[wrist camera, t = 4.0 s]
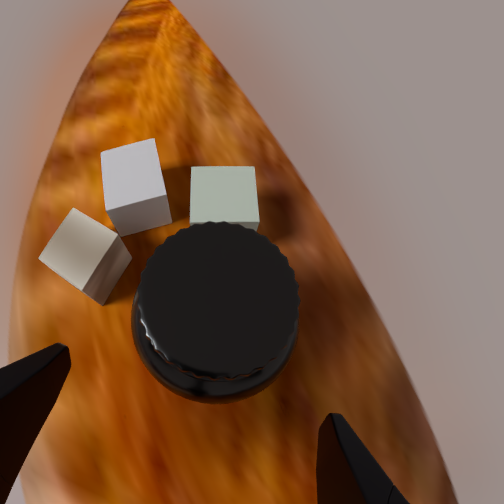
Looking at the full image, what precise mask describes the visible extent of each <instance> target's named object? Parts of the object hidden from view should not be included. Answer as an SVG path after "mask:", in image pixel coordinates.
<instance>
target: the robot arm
mask: <svg viewBox="0 0 504 504" xmlns="http://www.w3.org/2000/svg"><path fill="white" fill-rule="evenodd" d="M70 368H71V359H70V353H69V348H68V347H67V346H66V345H63V344H61V343H55V344H53V345H51V346H49V347H46V348H44V349H42V350H40V351H38V352H35V353H33V354H31V355H29V356H27V357H25V358H22V359H20V360H18V361H16V362H14V363H11V364H9V365H7V366H5V367H3V368H0V504H5V503H6V500H7V498H8V496H9V493H10V491H11V489H12V486H13V484H14V482H15V480H16V478H17V476H18V474H19V471H20V469H21V467H22V465H23V463H24V461H25V459H26V457H27V455H28V453H29V451H30V449H31V447H32V445H33V443H34V441H35V440H36V438H37V436H38V434H39V432H40V430H41V428H42V426H43V425H44V423H45V421H46V419H47V417H48V415H49V414H50V412H51V410H52V408H53V406H54V405H55V403H56V400H57V398H58V396H59V394H60V391H61V389H62V387H63V384H64V382H65V380H66V377H67V375H68V373H69V371H70ZM316 479H317V502H318V504H410V503H409V502H408V501H407V500H406V499H405V498H404V496H403V495H402V494H401V493H400V491H399V490H398V489H397V488H396V486H395V485H393V482H392V481H391V480H390V478H389V477H388V476H387V475H386V473H385V472H384V471H383V469H382V468H381V467H380V465H379V464H378V463H377V461H376V460H375V459H374V457H373V456H372V455H371V453H370V452H369V451H368V449H367V448H366V447H365V445H364V444H363V443H362V441H361V440H360V439H359V437H358V436H357V435H356V433H355V432H354V431H353V429H352V428H351V427H350V425H349V424H348V423H347V421H346V420H345V418H344V417H343V416H342V415H341V414H338V413H329V414H328V415H327V417H326V418H325V420H324V421H323V423H322V424H321V426H320V428H319V433H318V449H317V463H316Z"/></svg>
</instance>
